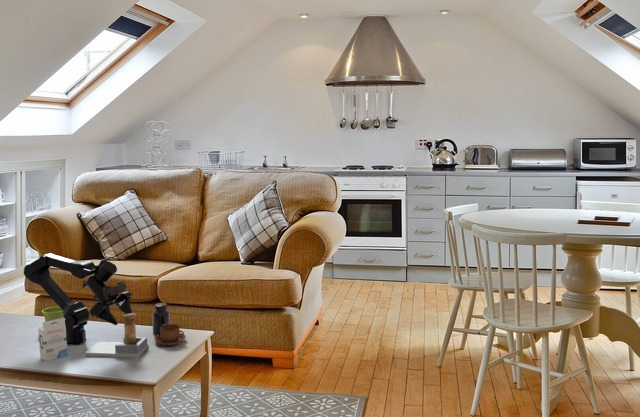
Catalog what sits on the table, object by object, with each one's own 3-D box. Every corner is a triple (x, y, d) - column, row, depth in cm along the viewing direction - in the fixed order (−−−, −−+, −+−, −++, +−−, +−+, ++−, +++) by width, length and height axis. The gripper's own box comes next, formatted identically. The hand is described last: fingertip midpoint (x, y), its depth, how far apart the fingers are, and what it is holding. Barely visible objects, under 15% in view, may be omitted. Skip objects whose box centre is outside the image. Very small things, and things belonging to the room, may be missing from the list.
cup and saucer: (188, 337, 274) (187, 322, 273) (182, 347, 262) (182, 332, 262) (158, 337, 274) (157, 322, 273) (151, 347, 262) (150, 332, 261)
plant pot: (40, 329, 284) (39, 308, 283) (64, 325, 289) (63, 305, 288) (45, 335, 276) (44, 314, 275) (69, 331, 281) (68, 310, 280)
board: (85, 355, 253) (84, 345, 253) (98, 344, 265) (97, 334, 264) (137, 357, 251) (137, 347, 251) (148, 346, 263) (148, 336, 263)
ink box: (62, 352, 257) (60, 314, 255) (68, 355, 253) (65, 317, 251) (39, 358, 251) (37, 319, 249) (44, 361, 247) (42, 322, 245)
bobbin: (124, 351, 255) (122, 317, 253) (124, 346, 259) (123, 313, 257) (137, 349, 256) (136, 316, 254) (137, 345, 260) (136, 312, 259)
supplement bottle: (165, 336, 275) (164, 307, 273) (150, 335, 276) (149, 306, 275) (172, 330, 282) (172, 302, 280) (157, 329, 283) (156, 301, 281)
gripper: (94, 281, 248) (120, 315, 245) (127, 270, 265) (152, 301, 262) (78, 300, 252) (103, 333, 249) (112, 288, 269) (135, 318, 267)
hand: (124, 321), depth 257 cm, fingers open, 9 cm apart
